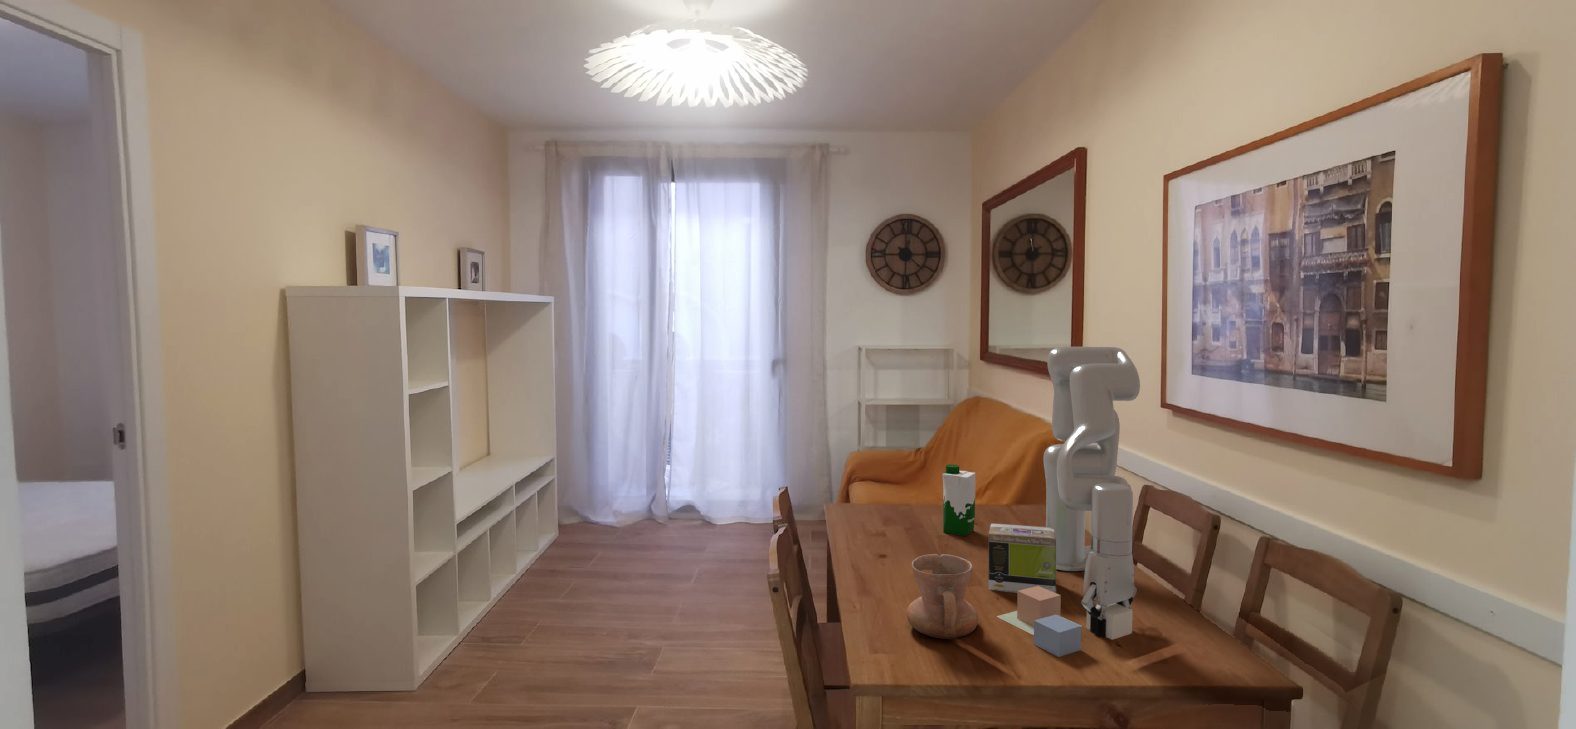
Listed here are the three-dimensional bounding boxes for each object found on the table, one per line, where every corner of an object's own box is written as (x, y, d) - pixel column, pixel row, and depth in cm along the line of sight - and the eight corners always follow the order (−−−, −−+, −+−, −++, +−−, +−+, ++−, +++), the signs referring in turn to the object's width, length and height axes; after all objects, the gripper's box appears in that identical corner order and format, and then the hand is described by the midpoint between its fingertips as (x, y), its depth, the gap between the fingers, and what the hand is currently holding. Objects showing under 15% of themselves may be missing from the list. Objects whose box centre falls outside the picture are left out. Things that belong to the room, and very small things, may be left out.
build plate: (1036, 610, 155) (1036, 605, 155) (1082, 631, 145) (1082, 625, 145) (996, 621, 150) (996, 616, 150) (1040, 644, 139) (1040, 638, 139)
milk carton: (949, 525, 220) (950, 462, 219) (978, 530, 215) (978, 465, 214) (939, 532, 213) (939, 467, 211) (968, 537, 208) (969, 470, 206)
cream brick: (1105, 627, 147) (1106, 599, 146) (1131, 639, 141) (1132, 609, 141) (1086, 633, 144) (1086, 605, 144) (1112, 645, 139) (1112, 615, 138)
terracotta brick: (1037, 613, 151) (1037, 585, 151) (1060, 623, 146) (1060, 595, 146) (1017, 618, 148) (1017, 590, 148) (1039, 629, 143) (1040, 600, 143)
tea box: (1054, 587, 169) (1055, 526, 168) (1056, 602, 160) (1057, 538, 159) (989, 579, 174) (990, 521, 173) (987, 594, 165) (988, 532, 164)
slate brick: (1055, 643, 140) (1055, 614, 139) (1080, 656, 134) (1081, 625, 134) (1033, 650, 137) (1034, 620, 137) (1058, 663, 132) (1059, 632, 131)
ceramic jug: (903, 611, 155) (903, 548, 154) (970, 613, 154) (970, 549, 153) (910, 651, 137) (910, 580, 136) (986, 653, 136) (986, 582, 135)
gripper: (1122, 534, 149) (1120, 617, 150) (1065, 546, 141) (1064, 634, 142) (1155, 544, 142) (1153, 631, 143) (1098, 557, 134) (1096, 650, 135)
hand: (1108, 632), depth 143 cm, fingers closed on cream brick, 6 cm apart
